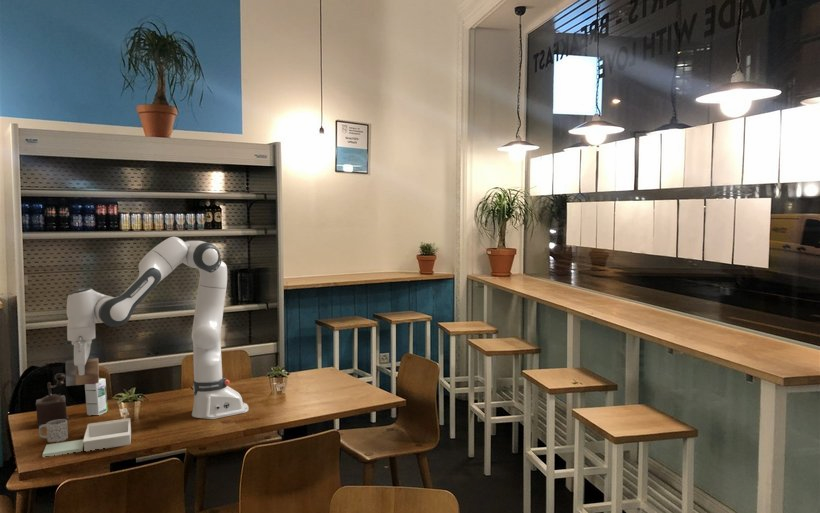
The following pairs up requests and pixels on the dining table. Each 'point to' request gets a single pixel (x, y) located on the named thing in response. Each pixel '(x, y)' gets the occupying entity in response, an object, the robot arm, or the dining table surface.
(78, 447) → the green board
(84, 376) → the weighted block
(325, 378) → the dining table surface
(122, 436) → the tray
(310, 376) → the dining table surface
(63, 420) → the mug
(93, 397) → the syrup box
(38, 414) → the pepper mill
